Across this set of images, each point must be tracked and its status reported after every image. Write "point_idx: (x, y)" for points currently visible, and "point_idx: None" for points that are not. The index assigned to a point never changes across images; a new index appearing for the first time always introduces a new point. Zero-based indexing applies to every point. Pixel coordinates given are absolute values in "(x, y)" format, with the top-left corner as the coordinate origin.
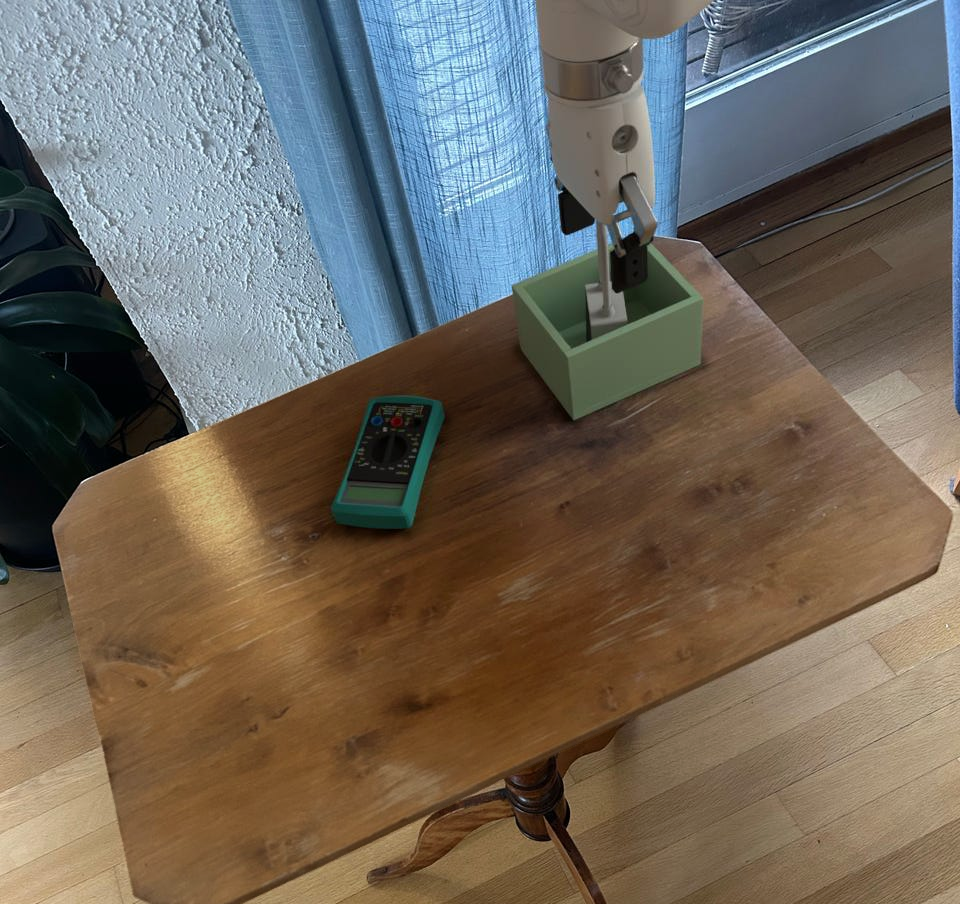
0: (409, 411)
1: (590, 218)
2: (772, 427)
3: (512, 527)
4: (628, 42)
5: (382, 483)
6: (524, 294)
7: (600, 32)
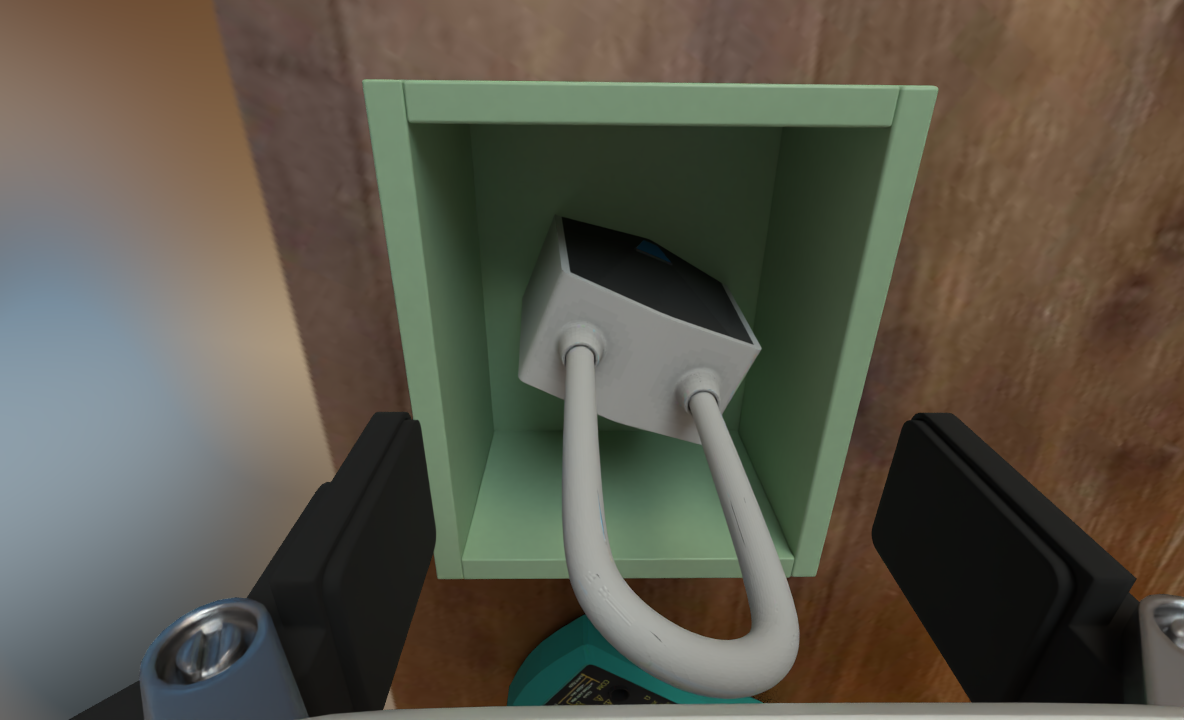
0: (582, 693)
1: (411, 457)
2: (1131, 47)
3: (886, 604)
4: None
5: None
6: (499, 568)
7: None
